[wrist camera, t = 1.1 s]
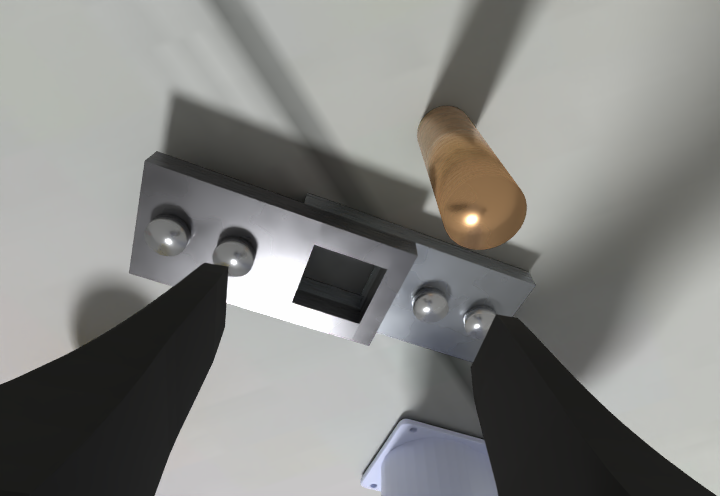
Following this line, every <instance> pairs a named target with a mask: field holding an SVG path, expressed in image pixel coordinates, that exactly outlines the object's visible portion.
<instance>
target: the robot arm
mask: <svg viewBox="0 0 720 496" xmlns="http://www.w3.org/2000/svg"><path fill="white" fill-rule="evenodd" d="M228 269H229V267H227V266H221V265H216V264H210V263H203V264H202V265H200V266H199V267H197V268H196V269H195V270H194V271H192V272H191V273H190V274H189V275H187V276H186V277H185V278H184V279H182V280H181V281H180V282H178V283H177V284H176V285H174V286H173V287H172V288H171V289H169V290H168V291H167V292H165V293H164V294H162V295H161V296H160V297H158V298H157V299H156V300H154V301H153V302H151V303H150V304H149V305H147V306H146V307H145V308H143V309H142V310H140V311H139V312H137V313H136V314H134V315H133V316H131V317H130V318H128V319H126V320H125V321H123V322H122V323H120V324H119V325H117V326H116V327H114V328H113V329H111V330H109V331H108V332H106V333H104V334H103V335H101V336H99V337H98V338H96V339H94V340H92V341H91V342H89V343H87V344H85V345H83V346H82V347H80V348H78V349H76V350H74V351H72V352H70V353H68V354H66V355H64V356H62V357H60V358H58V359H56V360H54V361H52V362H50V363H47V364H45V365H43V366H41V367H39V368H37V369H35V370H32V371H30V372H28V373H26V374H24V375H22V376H20V377H17V378H15V379H13V380H10V381H8V382H6V383H3V384H1V385H0V496H154V495H155V493H156V490H157V487H158V484H159V482H160V479H161V476H162V474H163V471H164V468H165V465H166V463H167V460H168V457H169V455H170V452H171V450H172V448H173V445H174V443H175V441H176V438H177V436H178V434H179V432H180V430H181V428H182V426H183V424H184V422H185V420H186V417H187V415H188V413H189V411H190V409H191V407H192V405H193V403H194V401H195V399H196V397H197V395H198V392H199V390H200V388H201V386H202V384H203V382H204V380H205V378H206V376H207V374H208V371H209V369H210V367H211V365H212V363H213V361H214V358H215V355H216V352H217V349H218V346H219V343H220V340H221V337H222V334H223V331H224V328H225V318H226V301H227V285H228ZM471 373H472V383H473V392H474V399H475V405H476V409H477V413H478V417H479V421H480V425H481V429H482V433H483V437H484V440H483V439H479V438H476V437H472V436H468V435H465V434H461V433H458V432H454V431H450V430H447V429H443V428H440V427H436V426H432V425H429V424H425V423H421V422H418V421H414V420H411V419H403V420H401V421H400V422H399V423H398V425H397V426H396V428H395V429H394V430H393V432H392V433H391V435H390V436H389V438H388V439H387V441H386V442H385V444H384V445H383V447H382V448H381V450H380V451H379V453H378V454H377V456H376V457H375V459H374V460H373V462H372V463H371V465H370V466H369V467H368V469H367V470H366V472H365V473H364V475H363V476H362V478H361V485H362V486H363V487H365V488H369V489H373V490H377V491H381V496H716V495H715V494H713V493H712V492H711V491H709V490H708V489H706V488H705V487H703V486H702V485H701V484H699V483H698V482H696V481H695V480H694V479H692V478H691V477H690V476H688V475H687V474H686V473H684V472H683V471H682V470H680V469H679V468H678V467H676V466H675V465H674V464H672V463H671V462H670V461H668V460H667V459H665V458H664V457H663V456H662V455H660V454H659V453H658V452H657V451H655V450H654V449H653V448H652V447H650V446H649V445H648V444H647V443H645V442H644V441H643V440H642V439H641V438H639V437H638V436H637V435H636V434H635V433H634V432H632V431H631V430H630V429H629V428H628V427H626V426H625V425H624V424H623V423H622V422H621V421H620V420H618V419H617V418H616V417H615V416H614V415H613V414H612V413H611V412H610V411H608V410H607V409H606V408H605V407H604V406H603V405H602V404H601V403H600V402H599V401H598V400H597V399H596V398H595V397H594V396H593V395H592V394H591V393H590V392H589V391H588V390H587V389H586V388H585V387H584V386H583V385H582V384H581V383H580V382H579V381H578V380H577V379H576V378H575V377H574V376H573V375H572V374H571V373H570V372H569V371H568V370H567V369H566V368H565V367H564V366H563V365H562V364H561V363H560V362H559V361H558V360H557V358H556V357H555V356H554V355H553V354H552V353H551V352H550V351H549V350H548V349H547V348H546V347H545V346H544V345H543V344H542V342H541V341H540V340H539V339H538V338H537V337H536V336H535V335H534V334H533V333H532V332H531V331H530V330H529V329H528V328H527V327H526V326H525V325H524V324H523V323H522V322H521V321H520V320H519V319H518V318H515V317H509V316H503V315H498V314H496V315H495V317H494V320H493V322H492V324H491V326H490V328H489V330H488V332H487V334H486V336H485V338H484V341H483V343H482V345H481V347H480V349H479V351H478V353H477V355H476V357H475V360H474V362H473V364H472V366H471Z"/></svg>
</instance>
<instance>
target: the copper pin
mask: <svg viewBox="0 0 720 496" xmlns="http://www.w3.org/2000/svg"><path fill="white" fill-rule="evenodd" d="M417 138H418V142H419V146H420V149H421V152H422V156H423V159H424V162H425V165H426V169H427V172H428V175H429V178H430V182H431V185H432V188H433V192H434V195H435V198H436V201H437V205H438V208H439V211H440V214H441V218H442V221H443V224H444V228H445V230H446V232H447V234H448V235H449V237H450V238H451V239H452V240H453V241H454V242H456V243H457V244H459V245H460V246H463V247H465V248H469V249H474V250H484V249H490V248H494V247H497V246H499V245H501V244H503V243H505V242H506V241H508V240H509V239H511V238H512V237H513V236H514V235H515V234H516V233H517V232H518V230H519V229H520V228H521V226H522V224H523V222H524V220H525V216H526V211H527V204H526V199H525V196H524V194H523V192H522V191H521V189H520V188H519V187H518V185H517V184H516V182H515V181H514V180H513V178H512V177H511V176H510V174H509V173H508V171H507V170H506V169H505V167H504V166H503V165H502V163H501V162H500V160H499V159H498V158H497V156H496V155H495V154H494V152H493V151H492V149H491V148H490V147H489V145H488V144H487V143H486V141H485V140H484V138H483V137H482V136H481V134H480V133H479V132H478V130H477V129H476V127H475V126H474V125H473V123H472V122H471V121H470V119H469V118H468V116H467V115H466V114H465V113H464V112H463V111H462V110H460V109H458V108H456V107H452V106H442V107H438V108H435V109H433V110H432V111H430V112H429V113H427V114H426V115H425V117H424V118H423V119H422V121H421V122H420V125H419V127H418V133H417Z"/></svg>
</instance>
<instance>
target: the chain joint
mask: <svg viewBox="0 0 720 496" xmlns="http://www.w3.org/2000/svg"><path fill="white" fill-rule="evenodd" d="M314 245H317V246H320V247H323V248H326V249H329V250H332V251H334V252H337V253H340V254H343V255H346V256H349V257H352V258H355V259H358V260H361V261H364V262H367V263H370V264H373V265H375V266H374V268H373V270H372V272H371V275H370V277H369V279H368V281H367V283H366V285H365V287H364V289H363V291H362V293H361V295H358V294H355V293H352V292H349V291H346V290H343V289H339V288H336V287H333V286H330V285H327V284H324V283H321V282H318V281H315V280H312V279H308V278H305V277H302V275H303V272H304V269H305V267H306V264H307V262H308V259H309V257H310V254H311V252H312V249H313V247H314ZM203 263H210V264H216V265H221V266H227V267H229V269H228V285H227V301H226V303H229V304H232V305H236V306H239V307H242V308H246V309H249V310H252V311H255V312H259V313H262V314H265V315H269V316H272V317H275V318H279V319H282V320H285V321H288V322H292V323H295V324H298V325H302V326H305V327H308V328H312V329H315V330H318V331H322V332H325V333H328V334H331V335H335V336H338V337H341V338H345V339H348V340H351V341H355V342H358V343H361V344H364V345H368V346H369V345H370V343H371V341H372V339H373V338H374V336H375V334H376V333H379V334H382V335H386V336H389V337H392V338H395V339H399V340H402V341H405V342H408V343H411V344H415V345H418V346H421V347H424V348H428V349H431V350H434V351H437V352H441V353H444V354H447V355H450V356H453V357H457V358H460V359H463V360H466V361H470V362H474V360H475V357H476V355H477V353H478V351H479V349H480V347H481V345H482V343H483V341H484V338H485V336H486V334H487V332H488V330H489V328H490V326H491V324H492V322H493V320H494V317H495V315H496V314H498V315H503V316H509V317H513V315H514V314H515V312H516V311H517V310H518V308H519V307H520V306H521V304H522V303H523V302H524V300H525V299H526V298H527V296H528V295H529V294H530V292H531V291H532V290H533V288H534V287H535V283H534V281H533V279H532V277H531V276H530V274H529V272H527V271H525V270H522V269H519V268H516V267H514V266H511V265H508V264H505V263H502V262H500V261H497V260H494V259H491V258H488V257H486V256H483V255H480V254H477V253H474V252H472V251H469V250H466V249H463V248H461V247H458V246H455V245H452V244H449V243H447V242H444V241H441V240H438V239H435V238H433V237H430V236H427V235H424V234H421V233H419V232H416V231H413V230H410V229H407V228H405V227H402V226H399V225H396V224H394V223H391V222H388V221H385V220H382V219H380V218H377V217H374V216H371V215H368V214H366V213H363V212H360V211H357V210H354V209H352V208H349V207H346V206H343V205H341V204H338V203H335V202H332V201H329V200H327V199H324V198H321V197H318V196H315V195H313V194H310V193H307V196H306V199H305V202H304V203H302V202H299V201H296V200H293V199H291V198H288V197H285V196H282V195H279V194H276V193H274V192H271V191H268V190H265V189H262V188H259V187H257V186H254V185H251V184H248V183H245V182H242V181H240V180H237V179H234V178H231V177H228V176H225V175H223V174H220V173H217V172H214V171H211V170H208V169H206V168H203V167H200V166H197V165H194V164H192V163H189V162H186V161H183V160H180V159H177V158H175V157H172V156H169V155H166V154H163V153H160V152H158V151H157V152H155V153H154V154H153V155H152V156H150V157H149V158H148V159H147V160H145V163H144V170H143V177H142V184H141V191H140V198H139V205H138V213H137V220H136V227H135V234H134V241H133V248H132V255H131V263H130V270H129V273H130V274H133V275H137V276H140V277H143V278H147V279H150V280H153V281H156V282H160V283H163V284H166V285H170V286H174V285H176V284H177V283H178V282H180V281H181V280H182V279H184V278H185V277H186V276H187V275H189V274H190V273H191V272H192V271H194V270H195V269H196V268H197V267H199V266H200V265H202V264H203Z"/></svg>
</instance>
